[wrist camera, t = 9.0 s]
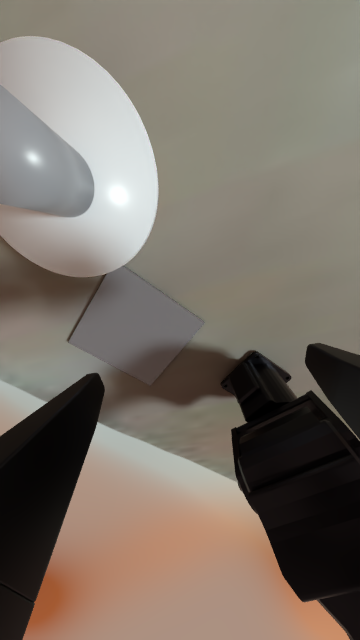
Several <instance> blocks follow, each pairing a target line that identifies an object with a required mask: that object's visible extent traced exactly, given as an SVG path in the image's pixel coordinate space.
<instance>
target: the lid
mask: <svg viewBox="0 0 360 640" xmlns="http://www.w3.org/2000/svg"><path fill="white" fill-rule="evenodd" d="M158 199H159V183H158V174H157V167H156V163H155V158H154V154H153V150H152V147H151V144H150V141H149V138H148V135H147V132H146V130H145V127H144V125H143V123H142V121H141V118H140V116H139V114H138V113H137V111H136V109H135V107H134V106H133V104H132V102H131V100H130V99H129V98H128V96H127V95H126V93H125V92H124V91H123V89H122V88H121V86H120V85H119V84H118V83H117V82H116V81H115V80H114V79H113V77H112V76H111V75H110V74H109V73H108V72H107V71H106V70H105V69H104V68H103V67H101V66H100V65H99V64H98V63H97V62H96V61H94V60H93V59H92V58H90V57H89V56H87V55H86V54H84V53H83V52H81V51H80V50H78V49H76V48H74V47H72V46H70V45H68V44H65V43H63V42H61V41H57V40H53V39H50V38H46V37H36V36H24V37H16V38H12V39H9V40H6V41H3V42H0V236H1V237H2V238H3V239H4V240H5V241H6V242H7V243H8V244H9V245H10V246H11V247H13V248H14V249H15V250H16V251H17V252H19V253H20V254H21V255H23V256H24V257H25V258H27V259H28V260H30V261H31V262H33V263H35V264H37V265H39V266H40V267H42V268H45V269H47V270H49V271H52V272H55V273H58V274H62V275H66V276H72V277H95V276H99V275H104V274H106V273H109V272H112V271H114V270H116V269H118V268H120V267H121V266H123V265H125V264H126V263H128V262H129V261H130V260H131V259H133V258H134V257H135V256H136V254H137V253H138V252H139V251H140V250H141V249H142V247H143V246H144V244H145V243H146V241H147V239H148V237H149V235H150V233H151V231H152V228H153V225H154V222H155V218H156V214H157V208H158Z"/></svg>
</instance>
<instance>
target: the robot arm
mask: <svg viewBox="0 0 360 640" xmlns="http://www.w3.org/2000/svg"><path fill="white" fill-rule="evenodd" d="M256 355H257V356H256ZM255 356H256V357H255ZM305 364H306V366H307V368H308V369H309V371H310V372H311V374H312V376H313V377H314V379H315V380H316V382H317V383H318V385H319V386H320V388H321V389H322V391H323V393H324V394H325V395H326V397H327V398H328V400H329V401H330V402H331V404H332V405H333V406H334V408H335V409H336V410H337V411H338V413H339V414H340V415H341V416H342V418H343V419H344V420H345V421H346V423H347V424H348V425H349V427H350V428H351V429H352V430H353V432H354V433H355V434H356V435H357V437H358V438H359V439H360V355H357V354H354V353H351V352H347V351H344V350H341V349H338V348H334V347H331V346H328V345H325V344H321V343H315V344H309V345H308V346H307V351H306V357H305ZM290 379H291V376H290V374H289V373H287V372H286V371H285V370H283V369H282V368H280V367H279V366H277V365H276V364H275V363H273V362H272V361H270V360H269V359H268V358H266V357H265V356H263V355H262V354H260V353H259V352H253V353H252V354H251V355H250V356H249V357H248V358H247V359H246V360H245V361H244V362H243V363H241V364H240V365H239V366H238V367H237V368H236V369H235V370H234V371H233V372H232V373H231V374H230V375H229V376H228V377H227V378H226V379H225V380H223V381H222V383H221V386H222V388H223V389H225V390H227V391H228V392H230V393H232V394H233V395H235V396H236V398H237V401H238V403H239V405H240V407H241V410H242V413H243V415H244V418H245V421H247V423H246V424H244V425H242V426H240V427H238V428H236V427H235V428H233V429H231V433H232V446H233V455H234V465H235V474H236V478H237V480H238V486H239V488H240V490H241V491H242V492H243V493H244V495H245V497H246V499H247V501H248V503H249V505H250V506H251V508H252V509H253V510H254V511H255V512H256V513H257V514H258V515H259V517H260V520H261V522H262V524H263V526H264V528H265V530H266V533H267V536H268V538H269V540H270V543H271V546H272V548H273V551H274V554H275V557H276V559H277V562H278V565H279V567H280V570H281V572H282V575H283V576H284V578H285V579H286V581H287V582H288V584H289V585H290V586H291V588H292V589H293V590H294V592H295V593H296V595H297V596H298V597H299V599H300V600H301V601H302V602H308V601H313V600H317V601H318V602H319V603H320V604H321V605H322V606H323V607H324V608H325V610H326V611H327V612H328V613H329V614H330V615H331V616H332V617H333V618H334V619H335V620H336V621H337V623H338V624H339V625H340V626H341V627H342V628H343V629H344V630H345V632H346V633H347V635H348V636H349V639H350V640H360V441H359V440H358V439H357V438H356V436H355V435H354V434H353V433H352V432H351V431H350V430H349V428H348V427H347V426H346V425H345V424H344V423H343V422H342V421H341V420H340V419H339V418H338V417H337V416H336V415H335V414H334V413H333V412H332V411H331V410H330V409H329V408H328V407H327V406H326V405H325V404H324V403H323V402H322V401H321V400H320V399H319V398H318V397H317V396H316V395H315V394H314V393H313V392H312V391H309V392H307V393H306V394H305V395H303V396H301V397H299V398H297V397H296V396H295V394H294V393H293V392H292V390H291V389H290V388H289V386H288V385H287V384H286V383H287V382H288V381H289V380H290ZM225 384H226V385H225ZM104 392H105V388H104V385H103V382H102V380H101V378H100V375H99V374H98V373H91V374H87V375H86V376H84V377H83V378H81V379H80V380H79V381H77V382H76V383H74V384H73V385H72V386H70V387H69V388H67V389H66V390H65V391H63V392H62V393H60V394H59V395H58V396H56V397H55V398H53V399H52V400H50V401H49V402H48V403H46V404H45V405H44V406H42V407H41V408H39V409H38V410H36V411H35V412H34V413H32V414H31V415H30V416H28V417H27V418H25V419H24V420H23V421H21V422H20V423H18V424H17V425H16V426H14V427H13V428H11V429H10V430H8V431H7V432H6V433H4V434H3V435H2V436H0V640H22V639H23V636H24V634H25V631H26V628H27V625H28V622H29V619H30V616H31V613H32V611H33V608H34V605H35V603H34V602H35V601H36V598H37V595H38V593H39V590H40V587H41V584H42V581H43V578H44V575H45V572H46V570H47V567H48V564H49V561H50V558H51V555H52V552H53V549H54V547H55V544H56V541H57V538H58V535H59V532H60V529H61V526H62V524H63V520H64V518H65V515H66V512H67V509H68V506H69V503H70V501H71V498H72V495H73V491H74V489H75V486H76V483H77V480H78V477H79V475H80V472H81V469H82V466H83V463H84V460H85V457H86V455H87V452H88V449H89V446H90V443H91V440H92V437H93V434H94V431H95V428H96V425H97V421H98V417H99V413H100V409H101V405H102V401H103V396H104Z"/></svg>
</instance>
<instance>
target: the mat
mask: <svg viewBox="0 0 360 640" xmlns="http://www.w3.org/2000/svg"><path fill="white" fill-rule="evenodd" d="M204 323H205V322H204V321H203V320H202V319H200V318H199V317H197V316H196V315H194V314H193V313H191V312H190V311H189V310H187V309H186V308H184V307H183V306H181V305H180V304H178V303H177V302H176V301H174V300H173V299H171V298H170V297H168V296H167V295H165V294H164V293H163V292H161V291H160V290H158V289H157V288H155V287H154V286H152V285H151V284H150V283H148V282H147V281H145V280H144V279H142V278H141V277H139V276H138V275H137V274H135V273H134V272H132V271H131V270H129V269H128V268H126V267H125V266H124V265H123V266H121V267H120V268H118V269H116V270H114V271H112V272H109V273H107V274H106V276H105V278H104V280H103V282H102V283H101V285H100V287H99V289H98V290H97V292H96V294H95V296H94V297H93V299H92V301H91V303H90V305H89V306H88V308H87V310H86V312H85V313H84V315H83V317H82V319H81V321H80V322H79V324H78V326H77V328H76V329H75V331H74V333H73V335H72V336H71V338H70V340H69V342H68V343H70V344H72V345H74V346H76V347H78V348H79V349H81V350H83V351H85V352H87V353H89V354H91V355H93V356H95V357H97V358H98V359H100V360H102V361H104V362H106V363H108V364H110V365H112V366H114V367H116V368H117V369H119V370H121V371H123V372H125V373H127V374H129V375H131V376H133V377H135V378H136V379H138V380H140V381H142V382H144V383H146V384H148V385H150V386H151V384H152V383H153V382H154V381H155V380H156V379H157V378H158V376H159V375H160V374H161V373H162V372H163V371H164V369H165V368H166V367H167V366H168V365H169V364H170V362H171V361H172V360H173V359H174V358H175V357H176V356H177V354H178V353H179V352H180V351H181V350H182V349H183V347H184V346H185V345H186V344H187V343H188V342H189V341H190V339H191V338H192V337H193V336H194V335H195V334H196V332H197V331H198V330H199V329H200V328H201V327H202V326H203V324H204Z"/></svg>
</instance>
